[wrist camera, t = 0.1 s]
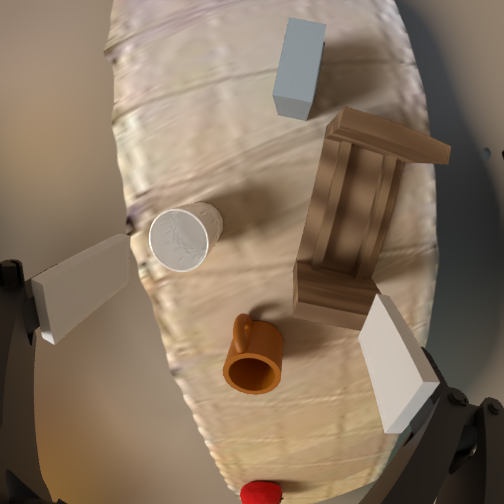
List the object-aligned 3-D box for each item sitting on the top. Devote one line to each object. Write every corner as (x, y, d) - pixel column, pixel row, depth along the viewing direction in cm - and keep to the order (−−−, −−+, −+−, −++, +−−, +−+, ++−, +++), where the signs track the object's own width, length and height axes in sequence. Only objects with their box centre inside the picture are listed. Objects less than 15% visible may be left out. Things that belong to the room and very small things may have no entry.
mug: (279, 301, 45) (277, 333, 36) (285, 358, 48) (284, 393, 40) (224, 305, 46) (212, 336, 38) (237, 361, 50) (228, 394, 41)
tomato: (245, 478, 70) (285, 478, 68) (244, 509, 62) (284, 510, 60) (236, 482, 61) (282, 483, 59) (235, 517, 53) (281, 519, 51)
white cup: (221, 193, 41) (200, 202, 31) (232, 244, 43) (215, 267, 33) (173, 204, 42) (142, 216, 33) (185, 252, 44) (158, 275, 35)
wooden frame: (326, 125, 36) (345, 106, 22) (403, 149, 35) (451, 146, 22) (293, 270, 43) (293, 317, 29) (365, 286, 42) (390, 335, 29)
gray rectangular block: (290, 55, 33) (289, 17, 22) (319, 60, 33) (328, 25, 21) (278, 115, 36) (272, 94, 25) (307, 121, 36) (314, 103, 24)
